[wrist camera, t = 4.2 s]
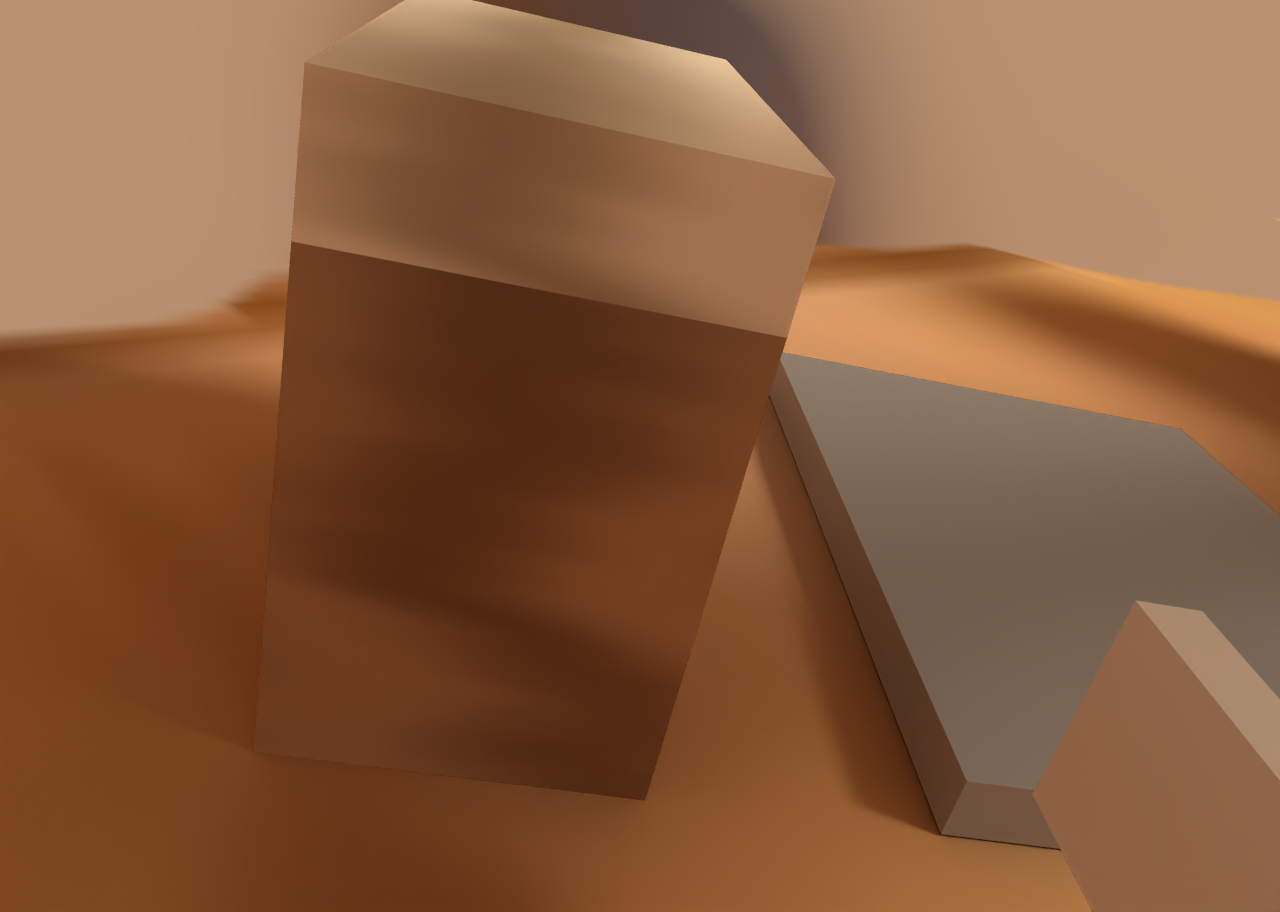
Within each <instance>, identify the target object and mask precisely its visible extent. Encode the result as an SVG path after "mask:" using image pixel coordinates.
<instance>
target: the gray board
mask: <svg viewBox="0 0 1280 912" xmlns="http://www.w3.org/2000/svg"><path fill="white" fill-rule="evenodd" d="M769 395H770V398H771V400H772V403H773V405H774V408H775V411H776V413H777V416H778V418H779V421H780V423H781V426H782V428H783V431H784V434H785V436H786V439H787V441H788V444H789V446H790V449H791V452H792V454H793V457H794V459H795V462H796V464H797V467H798V469H799V472H800V475H801V477H802V480H803V482H804V485H805V487H806V490H807V493H808V495H809V498H810V500H811V503H812V505H813V508H814V510H815V513H816V516H817V518H818V521H819V523H820V526H821V528H822V531H823V534H824V536H825V539H826V541H827V544H828V546H829V549H830V551H831V554H832V557H833V559H834V562H835V564H836V567H837V569H838V572H839V575H840V577H841V580H842V582H843V585H844V587H845V590H846V592H847V595H848V598H849V600H850V603H851V605H852V608H853V610H854V613H855V616H856V618H857V621H858V623H859V626H860V628H861V631H862V633H863V636H864V639H865V641H866V644H867V646H868V649H869V651H870V654H871V657H872V659H873V662H874V664H875V667H876V669H877V672H878V674H879V677H880V680H881V682H882V685H883V687H884V690H885V692H886V695H887V698H888V700H889V703H890V705H891V708H892V710H893V713H894V715H895V718H896V721H897V723H898V726H899V728H900V731H901V733H902V736H903V739H904V741H905V744H906V746H907V749H908V751H909V754H910V756H911V759H912V762H913V764H914V767H915V769H916V772H917V774H918V777H919V780H920V782H921V785H922V787H923V790H924V792H925V795H926V797H927V800H928V803H929V805H930V808H931V810H932V813H933V815H934V818H935V821H936V823H937V826H938V828H939V831H940V833H941V834H943V835H951V836H959V837H967V838H975V839H984V840H992V841H1000V842H1008V843H1016V844H1024V845H1032V846H1041V847H1049V848H1057V849H1060V847H1059V845H1058V843H1057V841H1056V839H1055V837H1054V836H1053V834H1052V832H1051V830H1050V828H1049V826H1048V824H1047V822H1046V820H1045V818H1044V816H1043V814H1042V812H1041V810H1040V808H1039V806H1038V804H1037V802H1036V800H1035V798H1034V797H1033V795H1032V794H1033V792H1034V790H1035V788H1036V786H1037V784H1038V783H1039V781H1040V779H1041V777H1042V775H1043V773H1044V771H1045V769H1046V768H1047V766H1048V764H1049V762H1050V760H1051V758H1052V756H1053V754H1054V753H1055V751H1056V749H1057V747H1058V745H1059V743H1060V741H1061V739H1062V738H1063V736H1064V734H1065V732H1066V730H1067V728H1068V726H1069V724H1070V723H1071V721H1072V719H1073V717H1074V715H1075V713H1076V711H1077V710H1078V708H1079V706H1080V704H1081V702H1082V700H1083V698H1084V696H1085V695H1086V693H1087V691H1088V689H1089V687H1090V685H1091V683H1092V681H1093V680H1094V678H1095V676H1096V674H1097V672H1098V670H1099V668H1100V666H1101V665H1102V663H1103V661H1104V659H1105V657H1106V655H1107V653H1108V651H1109V650H1110V648H1111V646H1112V644H1113V642H1114V640H1115V638H1116V636H1117V635H1118V633H1119V631H1120V629H1121V627H1122V625H1123V623H1124V621H1125V620H1126V618H1127V616H1128V614H1129V612H1130V610H1131V608H1132V606H1133V605H1134V603H1135V601H1136V600H1137V601H1143V602H1149V603H1155V604H1161V605H1168V606H1174V607H1180V608H1186V609H1192V610H1198V611H1203V613H1204V614H1205V615H1206V616H1207V617H1208V618H1209V619H1210V621H1211V622H1212V623H1213V624H1214V625H1215V626H1216V627H1217V628H1218V630H1219V631H1220V632H1221V633H1222V634H1223V635H1224V636H1225V638H1226V639H1227V640H1228V641H1229V642H1230V643H1231V644H1232V645H1233V647H1234V648H1235V649H1236V650H1237V651H1238V652H1239V653H1240V655H1241V656H1242V657H1243V658H1244V659H1245V660H1246V661H1247V663H1248V664H1249V665H1250V666H1251V667H1252V668H1253V669H1254V670H1255V672H1256V673H1257V674H1258V675H1259V676H1260V677H1261V678H1262V680H1263V681H1264V682H1265V683H1266V684H1267V685H1268V686H1269V688H1270V689H1271V690H1272V691H1273V692H1274V693H1275V694H1276V695H1277V697H1278V698H1279V699H1280V516H1279V515H1278V514H1277V513H1276V512H1275V511H1274V510H1273V509H1272V508H1270V507H1269V506H1268V505H1267V504H1266V503H1265V502H1264V501H1262V500H1261V499H1260V498H1259V497H1258V496H1257V495H1256V494H1254V493H1253V492H1252V491H1251V490H1250V489H1249V488H1248V487H1247V486H1245V485H1244V484H1243V483H1242V482H1241V481H1240V480H1239V479H1237V478H1236V477H1235V476H1234V475H1233V474H1232V473H1231V472H1229V471H1228V470H1227V469H1226V468H1225V467H1224V466H1223V465H1222V464H1220V463H1219V462H1218V461H1217V460H1216V459H1215V458H1214V457H1212V456H1211V455H1210V454H1209V453H1208V452H1207V451H1206V450H1204V449H1203V448H1202V447H1201V446H1200V445H1199V444H1198V443H1197V442H1195V441H1194V440H1193V439H1192V438H1191V437H1190V436H1189V435H1187V434H1186V433H1185V432H1184V431H1183V430H1182V429H1179V428H1174V427H1169V426H1164V425H1158V424H1153V423H1148V422H1143V421H1138V420H1132V419H1127V418H1122V417H1117V416H1112V415H1106V414H1101V413H1096V412H1091V411H1086V410H1080V409H1075V408H1070V407H1065V406H1060V405H1054V404H1049V403H1044V402H1039V401H1034V400H1028V399H1023V398H1018V397H1013V396H1008V395H1002V394H997V393H992V392H987V391H981V390H976V389H971V388H966V387H961V386H955V385H950V384H945V383H940V382H935V381H929V380H924V379H919V378H914V377H909V376H903V375H898V374H893V373H888V372H883V371H877V370H872V369H867V368H862V367H857V366H851V365H846V364H841V363H836V362H831V361H825V360H820V359H815V358H810V357H805V356H799V355H794V354H789V353H784V352H782V355H781V359H780V362H779V365H778V368H777V372H776V375H775V378H774V381H773V385H772V388H771V391H770V394H769Z"/></svg>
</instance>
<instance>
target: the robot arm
mask: <svg viewBox="0 0 1280 912" xmlns="http://www.w3.org/2000/svg"><path fill="white" fill-rule="evenodd" d="M1032 795H1033V797H1034V798H1035V800H1036V802H1037V804H1038V806H1039V808H1040V810H1041V812H1042V814H1043V816H1044V818H1045V820H1046V822H1047V824H1048V826H1049V828H1050V830H1051V832H1052V834H1053V836H1054V837H1055V839H1056V841H1057V843H1058V845H1059V847H1060V849H1061V851H1062V853H1063V855H1064V857H1065V859H1066V861H1067V863H1068V865H1069V867H1070V869H1071V871H1072V873H1073V875H1074V877H1075V878H1076V880H1077V882H1078V884H1079V886H1080V888H1081V890H1082V892H1083V894H1084V896H1085V898H1086V900H1087V902H1088V904H1089V906H1090V908H1091V910H1092V912H1280V699H1279V698H1278V697H1277V695H1276V694H1275V693H1274V692H1273V691H1272V690H1271V689H1270V688H1269V686H1268V685H1267V684H1266V683H1265V682H1264V681H1263V680H1262V678H1261V677H1260V676H1259V675H1258V674H1257V673H1256V672H1255V670H1254V669H1253V668H1252V667H1251V666H1250V665H1249V664H1248V663H1247V661H1246V660H1245V659H1244V658H1243V657H1242V656H1241V655H1240V653H1239V652H1238V651H1237V650H1236V649H1235V648H1234V647H1233V645H1232V644H1231V643H1230V642H1229V641H1228V640H1227V639H1226V638H1225V636H1224V635H1223V634H1222V633H1221V632H1220V631H1219V630H1218V628H1217V627H1216V626H1215V625H1214V624H1213V623H1212V622H1211V621H1210V619H1209V618H1208V617H1207V616H1206V615H1205V614H1204V613H1203V611H1198V610H1192V609H1186V608H1180V607H1174V606H1168V605H1161V604H1155V603H1149V602H1143V601H1137V600H1136V601H1135V603H1134V605H1133V606H1132V608H1131V610H1130V612H1129V614H1128V616H1127V618H1126V620H1125V621H1124V623H1123V625H1122V627H1121V629H1120V631H1119V633H1118V635H1117V636H1116V638H1115V640H1114V642H1113V644H1112V646H1111V648H1110V650H1109V651H1108V653H1107V655H1106V657H1105V659H1104V661H1103V663H1102V665H1101V666H1100V668H1099V670H1098V672H1097V674H1096V676H1095V678H1094V680H1093V681H1092V683H1091V685H1090V687H1089V689H1088V691H1087V693H1086V695H1085V696H1084V698H1083V700H1082V702H1081V704H1080V706H1079V708H1078V710H1077V711H1076V713H1075V715H1074V717H1073V719H1072V721H1071V723H1070V724H1069V726H1068V728H1067V730H1066V732H1065V734H1064V736H1063V738H1062V739H1061V741H1060V743H1059V745H1058V747H1057V749H1056V751H1055V753H1054V754H1053V756H1052V758H1051V760H1050V762H1049V764H1048V766H1047V768H1046V769H1045V771H1044V773H1043V775H1042V777H1041V779H1040V781H1039V783H1038V784H1037V786H1036V788H1035V790H1034V792H1033V794H1032Z"/></svg>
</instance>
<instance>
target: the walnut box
mask: <svg viewBox="0 0 1280 912" xmlns="http://www.w3.org/2000/svg"><path fill="white" fill-rule="evenodd" d="M834 183H835V178H834V177H833V176H832V175H831V173H829V171H828V170H827V169H826V168H825V167H824V166H823V165H822V164H821V163H820V162H819V160H818V159H817V158H816V157H815V156H814V155H813V154H812V153H811V152H810V151H809V150H808V149H807V147H806V146H805V145H804V144H803V143H802V142H801V141H800V140H799V139H798V138H797V137H796V135H795V134H794V133H793V132H792V131H791V130H790V129H789V128H788V127H787V126H786V125H785V123H784V122H783V121H782V120H781V119H780V118H779V117H778V116H777V115H776V114H775V113H774V112H773V110H772V109H771V108H770V107H769V106H768V105H767V104H766V103H765V102H764V101H763V100H762V99H761V97H760V96H759V95H758V94H757V93H756V92H755V91H754V90H753V89H752V88H751V87H750V85H749V84H747V82H746V81H745V80H744V79H743V78H742V77H741V76H740V75H739V74H738V72H737V71H736V70H735V69H734V68H733V67H732V66H731V65H730V64H729V63H728V62H727V61H726V60H724V59H720V58H716V57H712V56H707V55H703V54H699V53H694V52H690V51H686V50H682V49H678V48H673V47H669V46H665V45H660V44H656V43H652V42H647V41H643V40H639V39H635V38H631V37H626V36H622V35H617V34H614V33H609V32H605V31H601V30H596V29H592V28H588V27H584V26H579V25H575V24H571V23H566V22H562V21H558V20H553V19H549V18H545V17H540V16H536V15H532V14H528V13H524V12H520V11H515V10H511V9H507V8H502V7H498V6H494V5H489V4H485V3H481V2H477V1H472V0H405V1H403V2H401V3H400V4H398V5H396V6H395V7H394V8H391V9H390V10H388V11H387V12H385V13H383V14H382V15H380V16H379V17H377V18H375V19H374V20H372V21H371V22H369V23H367V24H366V25H364V26H362V27H361V28H359V29H358V30H356V31H354V32H353V33H351V34H349V35H348V36H346V37H345V38H343V39H341V40H340V41H338V42H336V43H335V44H333V45H332V46H330V47H328V48H327V49H325V50H324V51H322V52H320V53H319V54H317V55H315V56H314V57H312V58H311V59H309V60H307V61H306V62H305V64H304V78H303V92H302V105H301V119H300V132H299V145H298V160H297V173H296V186H295V200H294V213H293V226H292V240H291V253H290V267H289V280H288V294H287V307H286V321H285V335H284V348H283V362H282V375H281V389H280V402H279V416H278V429H277V443H276V456H275V470H274V483H273V497H272V510H271V524H270V537H269V551H268V564H267V578H266V591H265V605H264V618H263V632H262V645H261V659H260V672H259V686H258V699H257V713H256V726H255V740H254V752H255V753H263V754H271V755H280V756H288V757H296V758H304V759H312V760H320V761H329V762H337V763H345V764H353V765H361V766H369V767H378V768H386V769H394V770H402V771H410V772H418V773H426V774H435V775H443V776H451V777H459V778H467V779H475V780H484V781H492V782H500V783H508V784H516V785H524V786H532V787H541V788H549V789H557V790H565V791H573V792H581V793H590V794H598V795H606V796H614V797H622V798H630V799H638V800H645V798H646V795H647V792H648V788H649V785H650V782H651V779H652V775H653V772H654V769H655V766H656V762H657V759H658V756H659V753H660V749H661V746H662V743H663V739H664V736H665V733H666V730H667V726H668V723H669V720H670V717H671V713H672V710H673V707H674V704H675V700H676V697H677V694H678V691H679V687H680V684H681V681H682V678H683V674H684V671H685V668H686V665H687V661H688V658H689V655H690V652H691V648H692V645H693V642H694V639H695V635H696V632H697V629H698V626H699V622H700V619H701V616H702V612H703V609H704V606H705V603H706V599H707V596H708V593H709V590H710V586H711V583H712V580H713V577H714V573H715V570H716V567H717V564H718V560H719V557H720V554H721V551H722V547H723V544H724V541H725V538H726V534H727V531H728V528H729V525H730V521H731V518H732V515H733V512H734V508H735V505H736V502H737V499H738V495H739V492H740V489H741V486H742V482H743V479H744V476H745V472H746V469H747V466H748V463H749V459H750V456H751V453H752V450H753V446H754V443H755V440H756V437H757V433H758V430H759V427H760V424H761V420H762V417H763V414H764V411H765V407H766V404H767V401H768V398H769V394H770V391H771V388H772V385H773V381H774V378H775V375H776V372H777V368H778V365H779V362H780V359H781V355H782V352H783V349H784V346H785V342H786V339H787V336H788V332H789V329H790V326H791V323H792V319H793V316H794V313H795V310H796V306H797V303H798V300H799V297H800V293H801V290H802V287H803V284H804V280H805V277H806V274H807V271H808V267H809V264H810V261H811V258H812V254H813V251H814V248H815V245H816V241H817V238H818V235H819V232H820V228H821V225H822V222H823V218H824V215H825V212H826V209H827V205H828V202H829V199H830V196H831V192H832V189H833V186H834Z"/></svg>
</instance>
